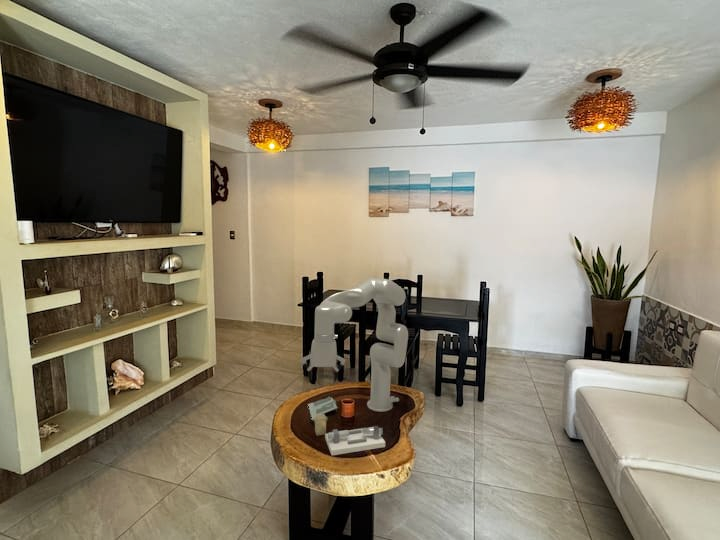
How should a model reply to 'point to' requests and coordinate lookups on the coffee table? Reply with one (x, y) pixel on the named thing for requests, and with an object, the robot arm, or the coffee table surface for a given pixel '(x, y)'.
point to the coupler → (320, 424)
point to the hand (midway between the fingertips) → (322, 380)
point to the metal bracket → (322, 407)
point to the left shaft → (373, 431)
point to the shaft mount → (351, 441)
